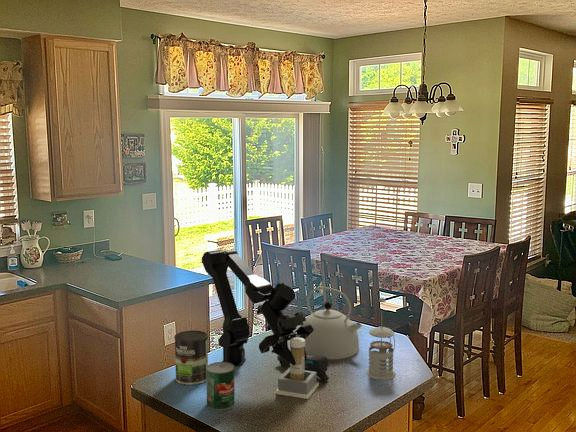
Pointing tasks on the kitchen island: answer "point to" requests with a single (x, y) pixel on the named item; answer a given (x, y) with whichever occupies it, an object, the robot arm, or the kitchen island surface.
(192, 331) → the coffee can
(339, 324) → the kettle
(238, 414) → the kitchen island surface
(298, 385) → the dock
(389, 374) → the french press
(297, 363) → the sprinkles bottle
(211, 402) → the canned tomato
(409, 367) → the kitchen island surface
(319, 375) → the gun
